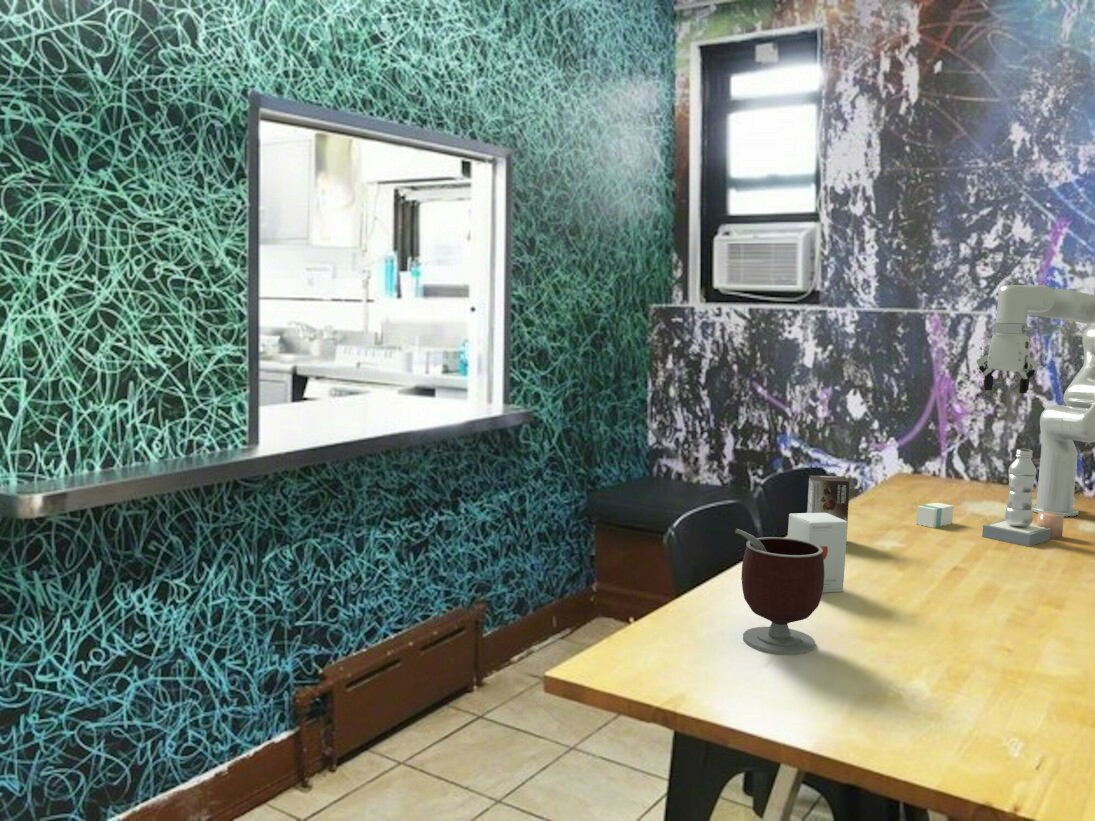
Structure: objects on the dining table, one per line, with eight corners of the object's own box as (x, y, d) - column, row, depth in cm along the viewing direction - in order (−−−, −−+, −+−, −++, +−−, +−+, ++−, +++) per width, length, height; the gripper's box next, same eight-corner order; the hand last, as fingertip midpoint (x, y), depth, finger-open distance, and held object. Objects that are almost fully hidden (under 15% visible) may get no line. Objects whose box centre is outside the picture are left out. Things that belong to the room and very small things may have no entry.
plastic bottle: (1037, 529, 249) (1044, 452, 246) (1010, 528, 249) (1018, 451, 246) (1024, 523, 255) (1031, 448, 253) (998, 523, 255) (1005, 447, 253)
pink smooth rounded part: (1042, 532, 260) (1044, 510, 259) (1065, 537, 255) (1068, 515, 254) (1032, 535, 256) (1034, 513, 255) (1055, 540, 251) (1058, 517, 250)
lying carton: (934, 520, 271) (936, 502, 271) (952, 523, 268) (953, 505, 267) (915, 524, 265) (917, 506, 265) (933, 528, 261) (934, 509, 261)
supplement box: (805, 594, 198) (809, 522, 196) (783, 581, 206) (787, 512, 205) (844, 592, 200) (849, 521, 198) (821, 579, 209) (825, 511, 207)
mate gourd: (806, 629, 177) (812, 521, 174) (830, 657, 163) (838, 540, 161) (721, 627, 176) (727, 519, 174) (738, 655, 162) (745, 538, 160)
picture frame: (1004, 530, 260) (1005, 519, 260) (1050, 540, 251) (1051, 528, 251) (982, 536, 253) (983, 524, 253) (1028, 546, 244) (1029, 534, 243)
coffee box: (841, 538, 246) (845, 476, 244) (846, 545, 240) (851, 480, 238) (804, 536, 247) (808, 474, 245) (809, 543, 240) (813, 479, 239)
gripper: (1048, 331, 265) (1043, 393, 267) (986, 328, 278) (981, 388, 280) (1036, 331, 260) (1031, 395, 262) (973, 328, 273) (968, 389, 275)
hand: (1005, 391), depth 271 cm, fingers open, 9 cm apart
